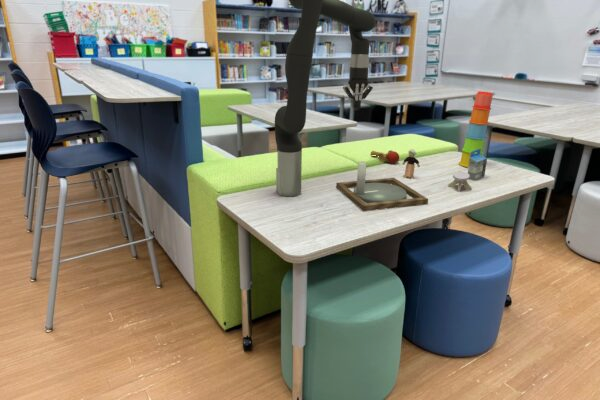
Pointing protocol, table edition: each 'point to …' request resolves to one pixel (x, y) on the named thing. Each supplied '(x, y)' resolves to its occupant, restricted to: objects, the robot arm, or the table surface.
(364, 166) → the dial
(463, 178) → the tree stump
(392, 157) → the kendama
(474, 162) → the label tape box
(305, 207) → the table surface
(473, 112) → the stacking cups
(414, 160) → the grandmother figurine
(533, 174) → the table surface
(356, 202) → the dial frame
